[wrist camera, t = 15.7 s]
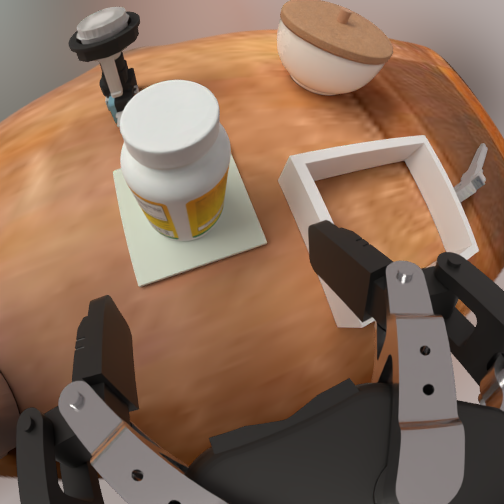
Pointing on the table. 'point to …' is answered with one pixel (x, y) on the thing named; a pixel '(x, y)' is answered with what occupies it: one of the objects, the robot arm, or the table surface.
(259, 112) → the table surface
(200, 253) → the rubber mat
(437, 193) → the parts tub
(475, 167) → the caliper
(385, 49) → the lidded jar
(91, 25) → the push button
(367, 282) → the robot arm
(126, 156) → the supplement bottle
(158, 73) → the table surface
